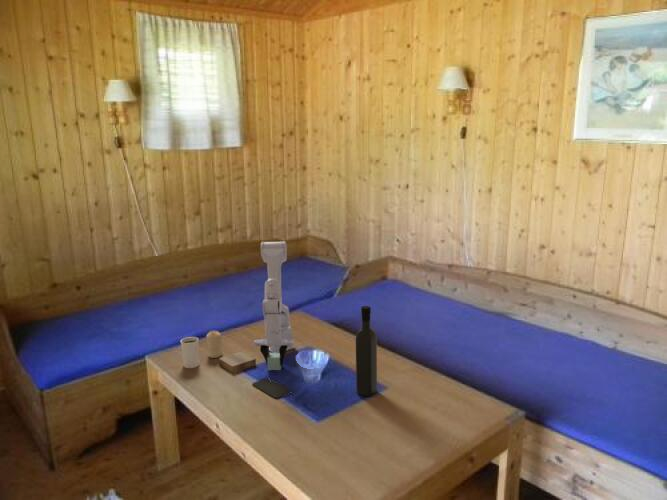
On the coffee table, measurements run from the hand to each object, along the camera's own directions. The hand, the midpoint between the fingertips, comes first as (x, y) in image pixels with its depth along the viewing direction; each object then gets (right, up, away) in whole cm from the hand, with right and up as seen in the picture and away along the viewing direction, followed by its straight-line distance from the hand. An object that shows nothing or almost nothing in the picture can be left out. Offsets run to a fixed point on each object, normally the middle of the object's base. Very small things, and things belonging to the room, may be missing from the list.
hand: (274, 364), depth 203 cm
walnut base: (-15, -1, +4) cm, 15 cm away
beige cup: (-32, -1, +5) cm, 33 cm away
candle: (-25, +1, +13) cm, 28 cm away
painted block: (0, -1, 0) cm, 1 cm away
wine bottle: (+33, -5, -20) cm, 39 cm away
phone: (+1, -6, -16) cm, 17 cm away
